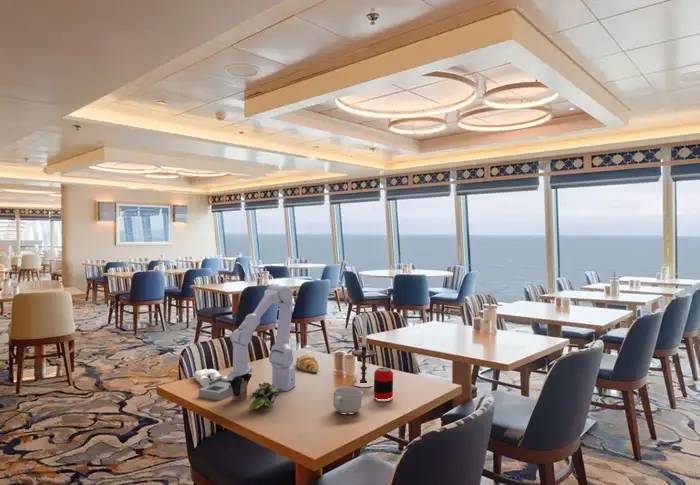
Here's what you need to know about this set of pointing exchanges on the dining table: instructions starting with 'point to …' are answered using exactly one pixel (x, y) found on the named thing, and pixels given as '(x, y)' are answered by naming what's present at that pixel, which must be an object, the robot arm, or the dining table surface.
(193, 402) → the dining table surface
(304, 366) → the croissant
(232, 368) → the lid
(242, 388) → the block
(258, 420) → the dining table surface
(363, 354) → the candlestick
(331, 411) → the dining table surface
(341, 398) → the teacup
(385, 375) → the soda can
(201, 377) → the binoculars
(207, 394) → the housing
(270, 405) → the green leafy plant
